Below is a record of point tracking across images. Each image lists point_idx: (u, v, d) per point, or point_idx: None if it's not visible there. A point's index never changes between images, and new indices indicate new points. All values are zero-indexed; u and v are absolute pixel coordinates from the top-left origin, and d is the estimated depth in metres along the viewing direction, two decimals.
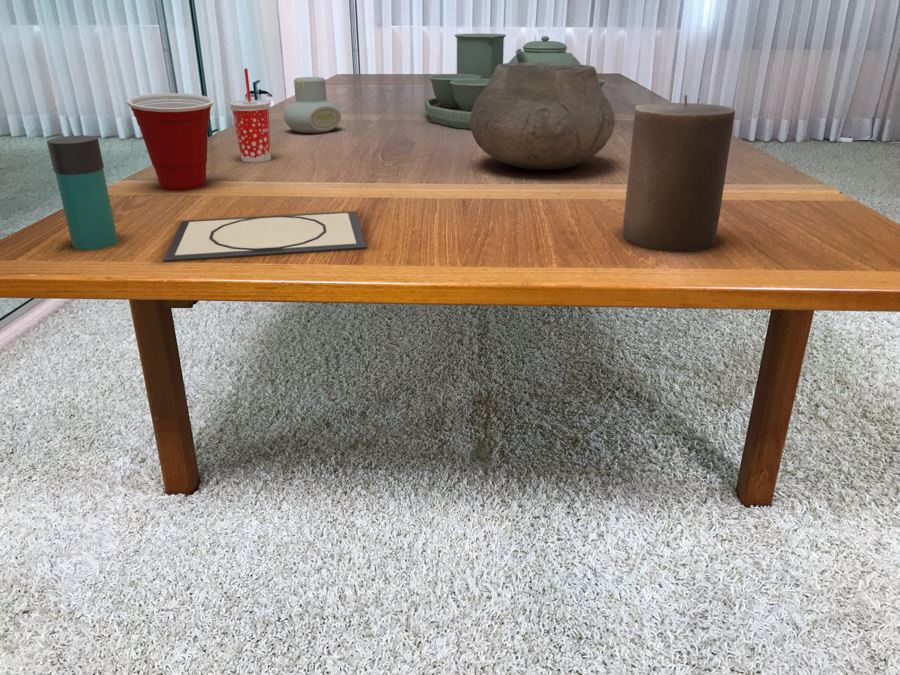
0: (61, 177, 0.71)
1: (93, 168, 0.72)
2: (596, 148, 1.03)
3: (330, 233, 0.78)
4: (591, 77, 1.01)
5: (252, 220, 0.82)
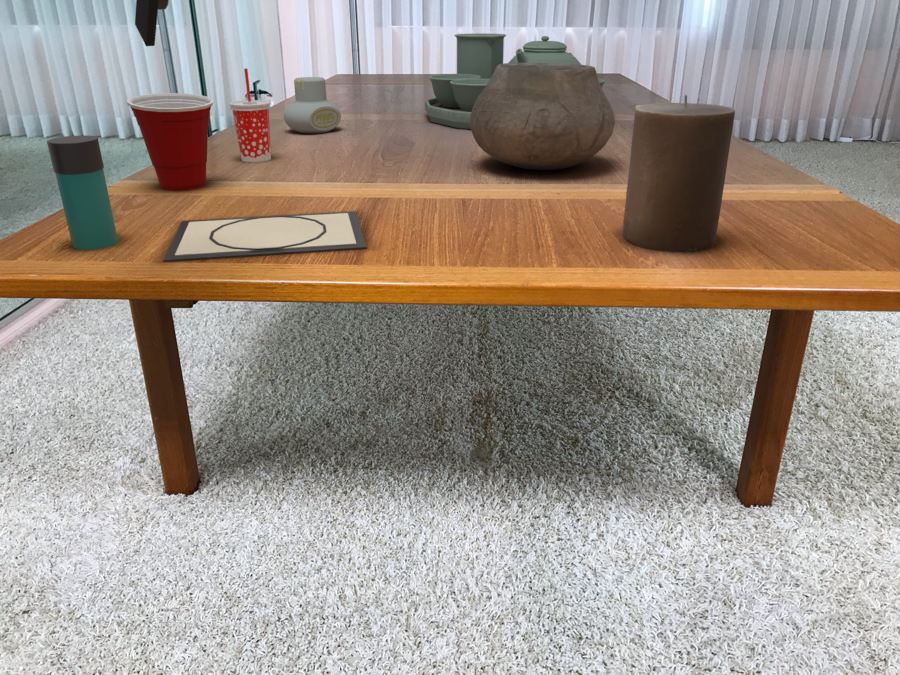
0: (61, 177, 0.71)
1: (93, 168, 0.72)
2: (596, 148, 1.03)
3: (330, 233, 0.78)
4: (591, 77, 1.01)
5: (252, 220, 0.82)
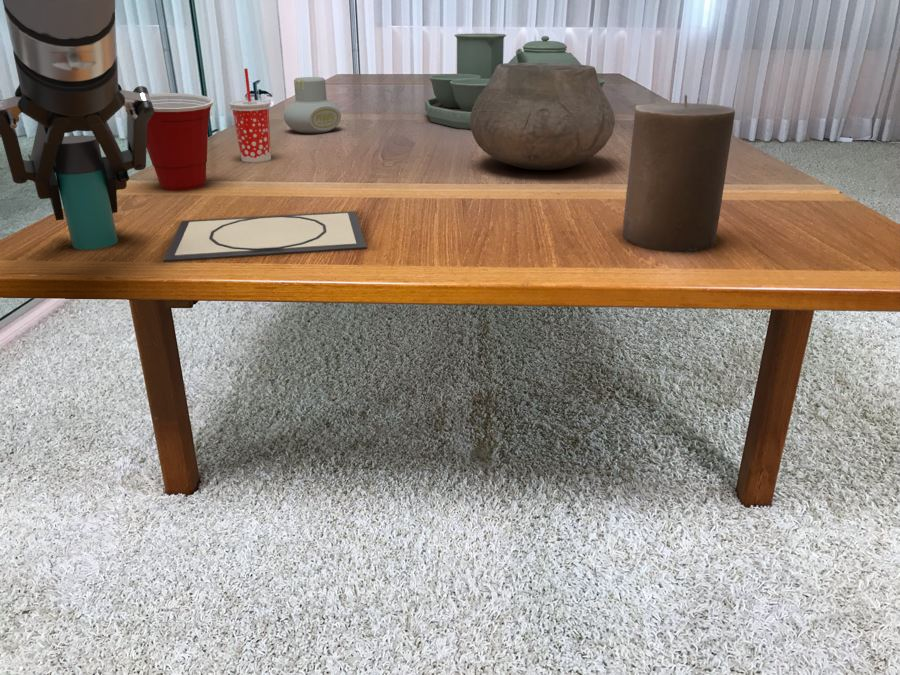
0: (61, 177, 0.71)
1: (93, 168, 0.72)
2: (596, 148, 1.03)
3: (330, 233, 0.78)
4: (591, 77, 1.01)
5: (252, 220, 0.82)
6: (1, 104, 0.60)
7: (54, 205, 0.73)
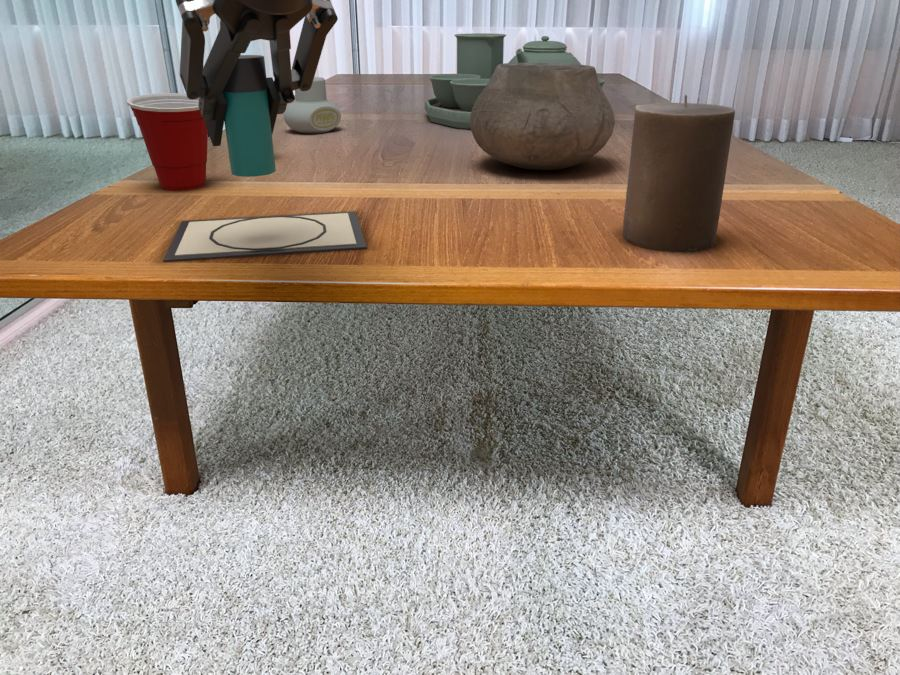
0: (229, 95, 0.68)
1: (260, 87, 0.69)
2: (596, 148, 1.03)
3: (330, 233, 0.78)
4: (591, 77, 1.01)
5: (252, 220, 0.82)
6: (196, 4, 0.58)
7: (216, 128, 0.71)
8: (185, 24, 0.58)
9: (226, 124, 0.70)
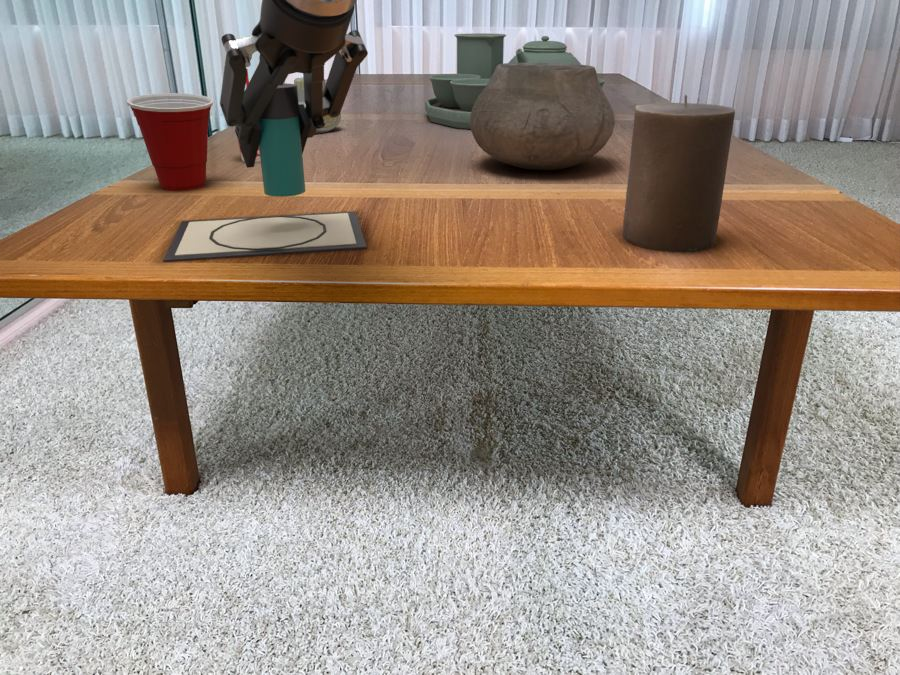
0: (264, 121, 0.73)
1: (294, 114, 0.74)
2: (596, 148, 1.03)
3: (330, 233, 0.78)
4: (591, 77, 1.01)
5: (252, 220, 0.82)
6: (240, 42, 0.63)
7: (251, 151, 0.76)
8: (230, 61, 0.63)
9: (261, 148, 0.75)
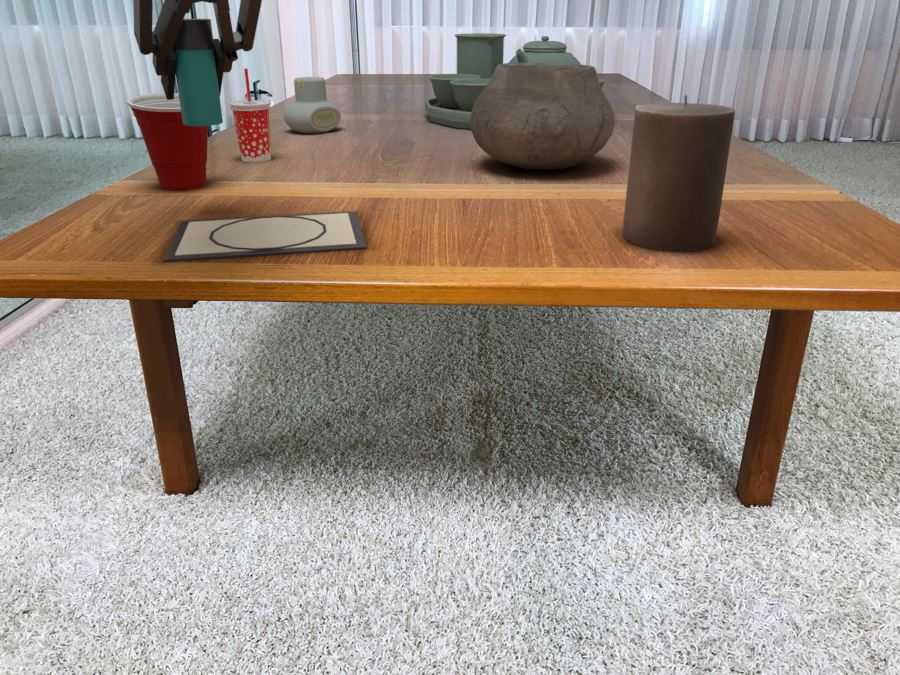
0: (178, 52, 0.78)
1: (207, 46, 0.78)
2: (596, 148, 1.03)
3: (330, 233, 0.78)
4: (591, 77, 1.01)
5: (252, 220, 0.82)
6: None
7: (168, 82, 0.80)
8: None
9: (177, 79, 0.80)
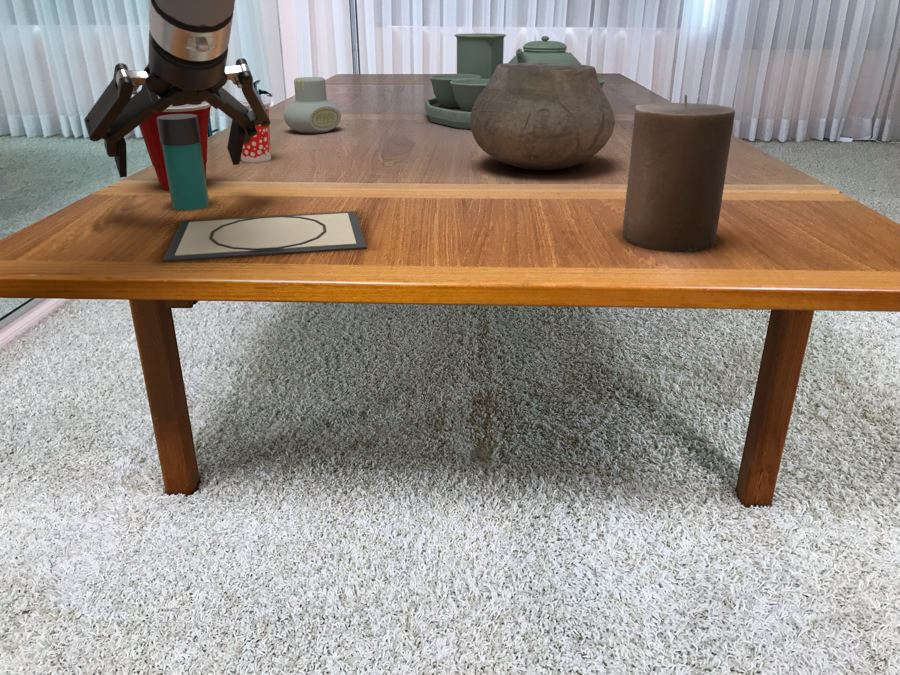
0: (168, 148, 0.85)
1: (194, 141, 0.86)
2: (596, 148, 1.03)
3: (330, 233, 0.78)
4: (591, 77, 1.01)
5: (252, 220, 0.82)
6: (133, 73, 0.73)
7: (120, 163, 0.83)
8: (122, 85, 0.73)
9: (167, 170, 0.87)
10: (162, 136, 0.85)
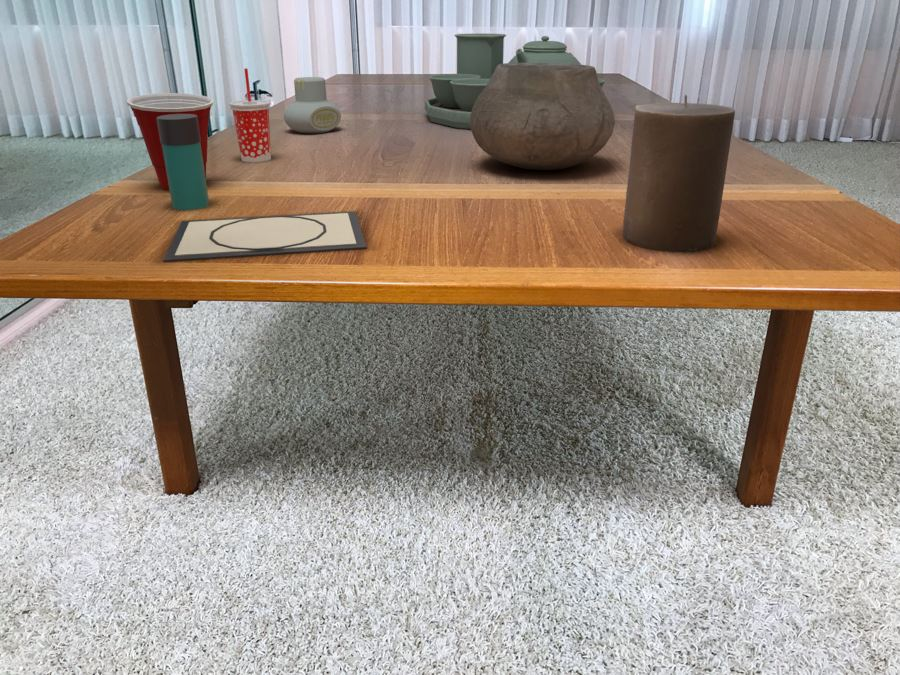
0: (168, 148, 0.85)
1: (194, 141, 0.86)
2: (596, 148, 1.03)
3: (330, 233, 0.78)
4: (591, 77, 1.01)
5: (252, 220, 0.82)
6: None
7: None
8: None
9: (167, 170, 0.87)
10: (162, 136, 0.85)
